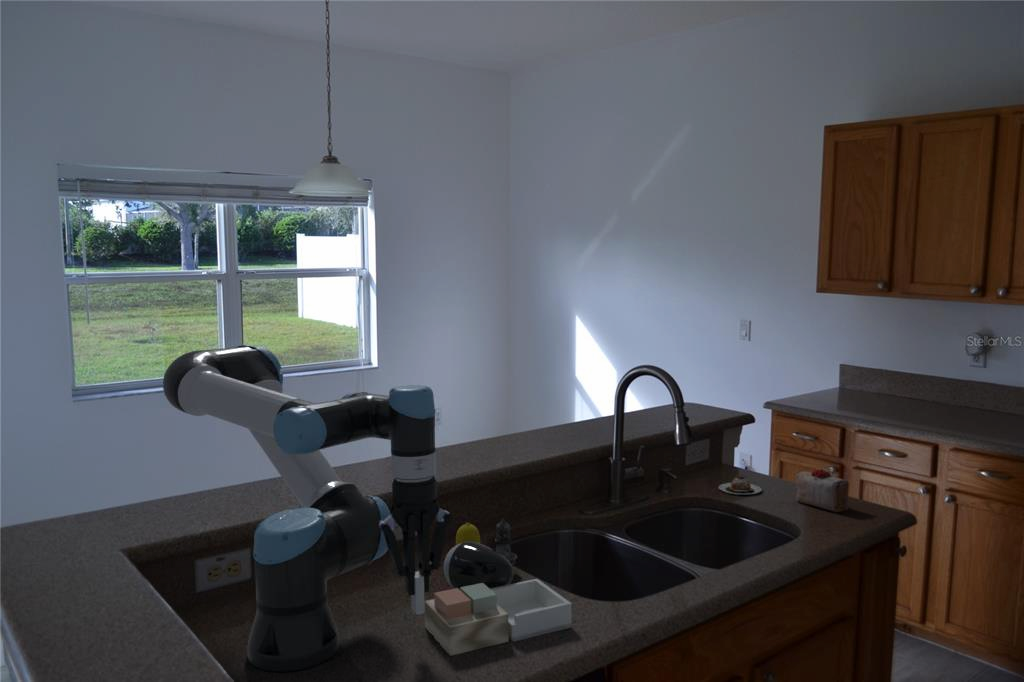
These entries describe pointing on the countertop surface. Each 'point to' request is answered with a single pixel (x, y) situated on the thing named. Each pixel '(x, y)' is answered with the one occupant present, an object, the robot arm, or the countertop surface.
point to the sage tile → (480, 597)
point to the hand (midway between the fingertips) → (418, 611)
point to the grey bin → (533, 609)
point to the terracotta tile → (452, 603)
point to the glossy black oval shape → (476, 566)
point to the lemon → (467, 534)
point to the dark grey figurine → (505, 542)
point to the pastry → (740, 486)
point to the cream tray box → (467, 629)
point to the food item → (822, 490)
